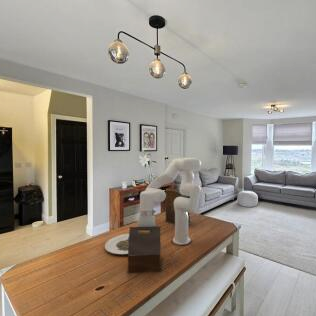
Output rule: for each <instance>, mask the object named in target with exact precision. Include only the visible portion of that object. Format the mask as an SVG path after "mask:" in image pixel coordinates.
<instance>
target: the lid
mask: <svg viewBox="0 0 316 316" xmlns="http://www.w3.org/2000/svg"><path fill="white" fill-rule="evenodd" d="M161 229H162V228H161V226H160V225H156V226H151V227H137V226H129V232H128V233H129V247H128V254H127V256H128V255H144V254H160V243H161Z"/></svg>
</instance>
